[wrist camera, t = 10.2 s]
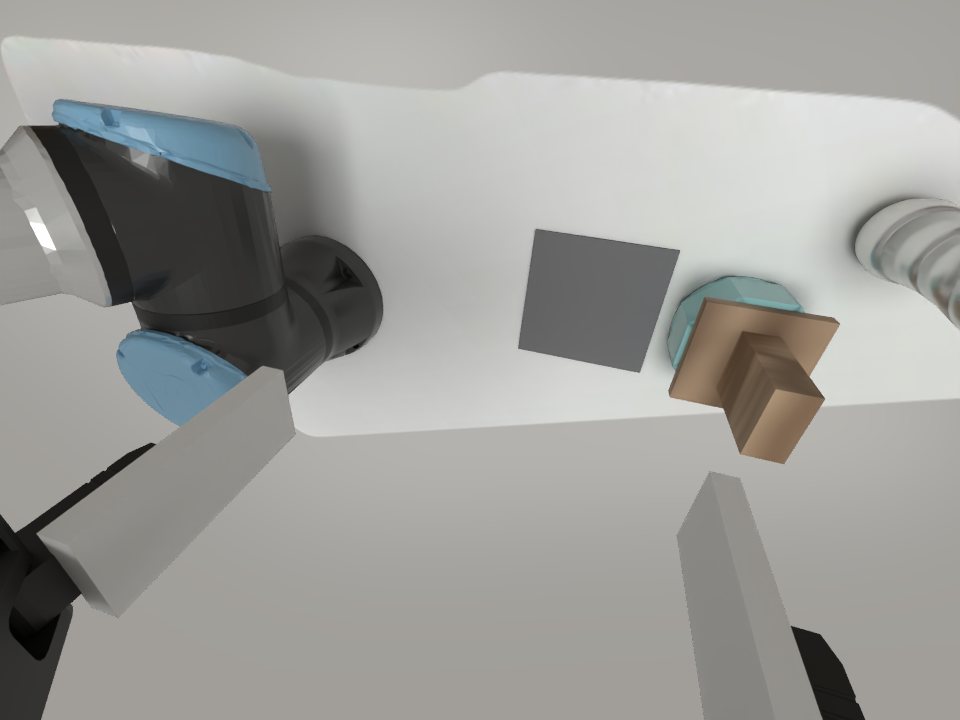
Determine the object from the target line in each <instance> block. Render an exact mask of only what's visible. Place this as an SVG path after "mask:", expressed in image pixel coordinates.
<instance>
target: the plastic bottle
mask: <svg viewBox="0 0 960 720" xmlns="http://www.w3.org/2000/svg"><path fill="white" fill-rule="evenodd" d="M855 252H856V255H857V258H858V259H859V261H860V262H861V264H862V265H863V267H864V268H865V269H866V270H867V271H868V272H869V273H870V274H872V275H874V276H876V277H878V278H881V279H883V280H886V281H889V282H893V283H897V284H901V285H903V286H905V287H908V288H910V289H912V290H914V291H916V292H918V293H920V294H921V295H922V296H924V297H925V298H926V299H928V300H929V301H930V302H932V303H933V304H934V305H936V306H937V307H938V308H939V309H940V311H941V312H942V313H943V314H944V315H945V316H946V317H947V318H948V319H949V320H950V321H951V322H952V323H953V324H954V325H955V327H957V328H958V329H959V330H960V207H959V206H958V205H956V204H954V203H952V202H950V201H946V200H941V199H922V198H917V199H909V200H904V201H901V202H897V203H895V204H892V205H890V206H888V207H886V208H884V209H882V210H881V211H879V212H878V213H876V214H875V215H874V216H872V217H871V218H870V219H869V220H868V221H867V222H866V223H865V224H864V226H863V227H862V229H861V230H860V232H859V234H858V236H857V238H856V243H855Z"/></svg>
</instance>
